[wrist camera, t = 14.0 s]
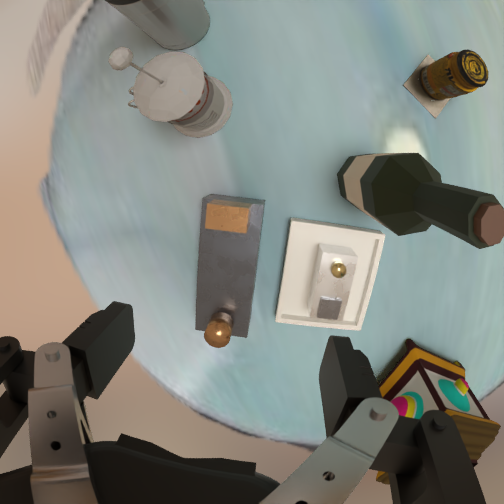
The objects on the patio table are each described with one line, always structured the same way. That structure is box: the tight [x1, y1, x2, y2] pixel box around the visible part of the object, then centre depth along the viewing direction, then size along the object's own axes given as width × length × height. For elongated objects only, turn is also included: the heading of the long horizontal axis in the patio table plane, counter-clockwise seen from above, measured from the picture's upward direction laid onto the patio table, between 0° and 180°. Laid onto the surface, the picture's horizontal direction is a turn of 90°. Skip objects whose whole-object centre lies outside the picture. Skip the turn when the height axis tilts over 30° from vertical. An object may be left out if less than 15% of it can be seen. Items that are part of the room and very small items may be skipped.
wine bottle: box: [337, 153, 504, 249], centre depth 27 cm, size 8×8×30 cm
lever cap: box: [307, 243, 358, 321], centre depth 43 cm, size 10×5×6 cm, turn 174°
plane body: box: [195, 194, 265, 348], centre depth 43 cm, size 20×8×9 cm, turn 174°
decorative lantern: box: [376, 339, 501, 484], centre depth 37 cm, size 20×20×30 cm
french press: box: [109, 47, 233, 138], centre depth 29 cm, size 10×12×25 cm
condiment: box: [404, 50, 488, 118], centre depth 30 cm, size 7×8×12 cm
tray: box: [275, 217, 385, 331], centre depth 45 cm, size 16×14×2 cm
